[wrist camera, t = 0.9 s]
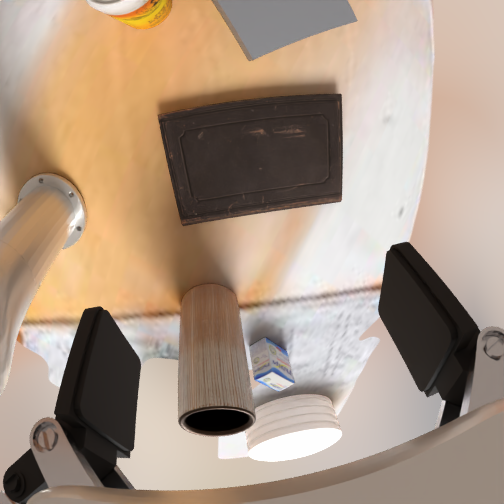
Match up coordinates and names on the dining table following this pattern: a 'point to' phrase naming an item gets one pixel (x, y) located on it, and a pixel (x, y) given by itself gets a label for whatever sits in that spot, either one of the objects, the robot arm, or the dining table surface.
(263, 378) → the medicine box
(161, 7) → the beer can
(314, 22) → the plate
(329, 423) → the plate stack
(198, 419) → the planter
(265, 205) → the hardcover book
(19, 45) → the dining table surface
